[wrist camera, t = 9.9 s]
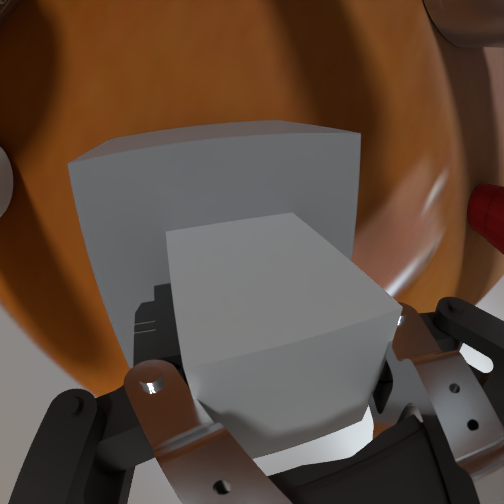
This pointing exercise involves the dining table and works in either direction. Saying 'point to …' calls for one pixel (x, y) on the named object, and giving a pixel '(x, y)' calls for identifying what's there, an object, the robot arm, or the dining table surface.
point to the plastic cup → (488, 213)
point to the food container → (7, 9)
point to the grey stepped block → (243, 269)
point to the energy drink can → (5, 182)
